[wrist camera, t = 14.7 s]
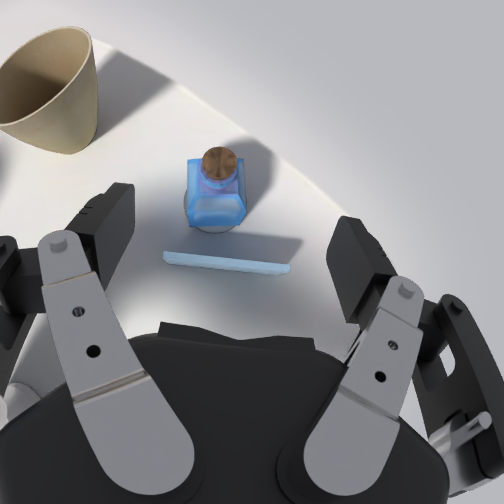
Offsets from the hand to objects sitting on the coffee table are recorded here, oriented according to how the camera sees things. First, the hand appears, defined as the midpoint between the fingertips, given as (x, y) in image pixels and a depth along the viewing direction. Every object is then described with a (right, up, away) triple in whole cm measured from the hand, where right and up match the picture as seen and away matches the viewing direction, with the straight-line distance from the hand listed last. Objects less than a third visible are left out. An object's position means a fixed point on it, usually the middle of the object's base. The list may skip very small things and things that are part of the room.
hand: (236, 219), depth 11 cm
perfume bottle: (-4, +5, +27) cm, 27 cm away
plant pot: (-26, +16, +25) cm, 40 cm away
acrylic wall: (-3, -3, +26) cm, 26 cm away
